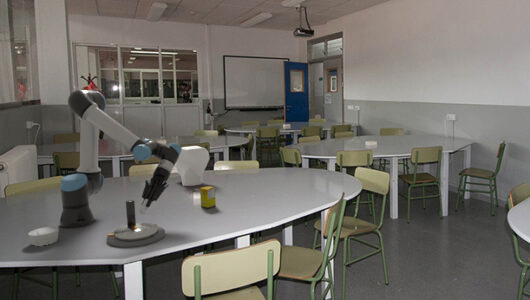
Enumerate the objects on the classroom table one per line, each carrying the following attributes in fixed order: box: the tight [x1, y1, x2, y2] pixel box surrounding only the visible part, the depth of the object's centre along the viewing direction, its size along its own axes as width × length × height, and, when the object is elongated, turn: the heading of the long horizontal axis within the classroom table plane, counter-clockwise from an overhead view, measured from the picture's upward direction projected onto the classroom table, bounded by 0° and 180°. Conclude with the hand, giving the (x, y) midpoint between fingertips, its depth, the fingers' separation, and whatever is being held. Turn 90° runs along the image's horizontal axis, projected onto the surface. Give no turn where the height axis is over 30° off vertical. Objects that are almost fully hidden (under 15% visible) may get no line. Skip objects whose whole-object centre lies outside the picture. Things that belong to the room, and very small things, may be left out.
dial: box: [113, 199, 159, 241], centre depth 168 cm, size 18×18×13 cm
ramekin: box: [27, 226, 60, 247], centre depth 165 cm, size 11×11×5 cm
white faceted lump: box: [174, 145, 211, 187], centre depth 278 cm, size 21×27×26 cm
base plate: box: [106, 226, 166, 249], centre depth 169 cm, size 24×24×2 cm
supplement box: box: [199, 185, 217, 210], centre depth 214 cm, size 6×6×11 cm
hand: (141, 212), depth 180 cm, fingers closed
